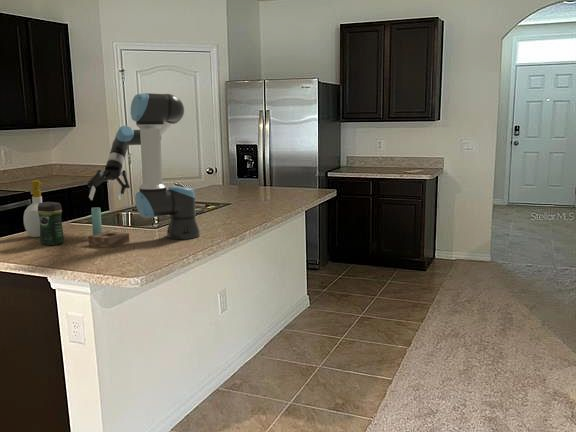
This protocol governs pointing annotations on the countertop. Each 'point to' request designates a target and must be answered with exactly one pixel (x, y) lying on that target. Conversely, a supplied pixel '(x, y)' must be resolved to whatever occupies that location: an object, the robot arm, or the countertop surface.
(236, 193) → the countertop surface
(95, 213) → the dowel
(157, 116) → the robot arm
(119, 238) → the bore block
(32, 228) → the soap bottle
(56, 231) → the coffee jar
